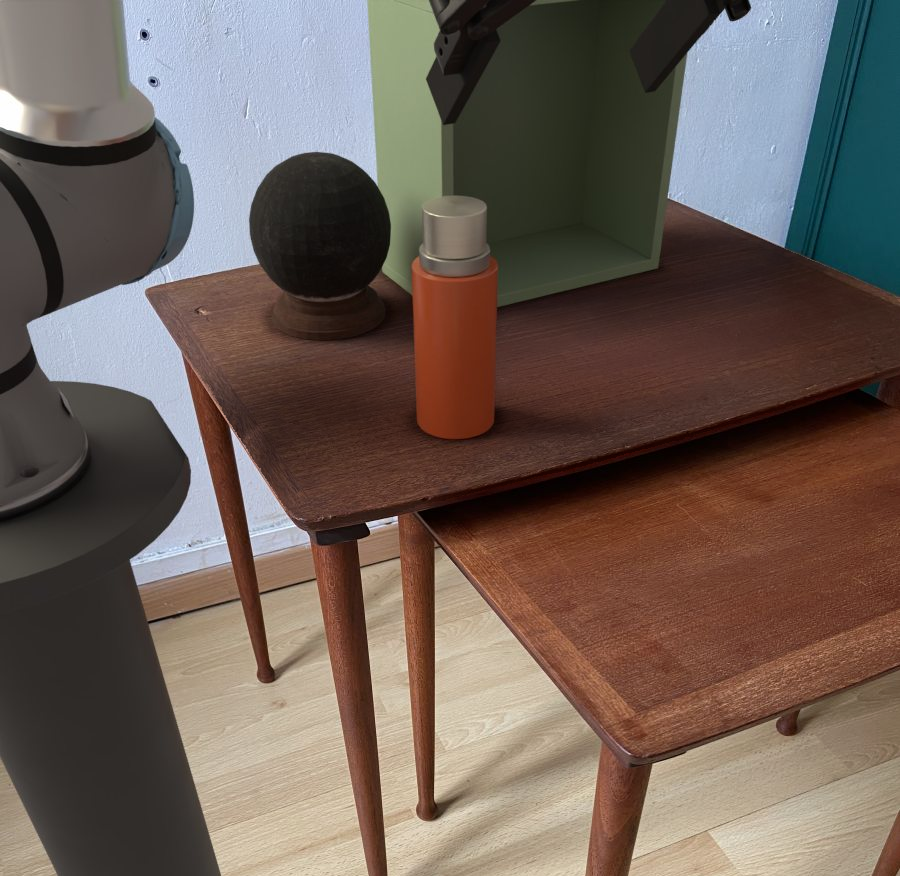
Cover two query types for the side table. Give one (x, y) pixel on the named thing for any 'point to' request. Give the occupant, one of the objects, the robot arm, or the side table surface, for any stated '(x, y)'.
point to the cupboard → (530, 142)
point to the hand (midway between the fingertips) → (545, 86)
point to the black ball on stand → (321, 245)
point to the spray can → (455, 319)
